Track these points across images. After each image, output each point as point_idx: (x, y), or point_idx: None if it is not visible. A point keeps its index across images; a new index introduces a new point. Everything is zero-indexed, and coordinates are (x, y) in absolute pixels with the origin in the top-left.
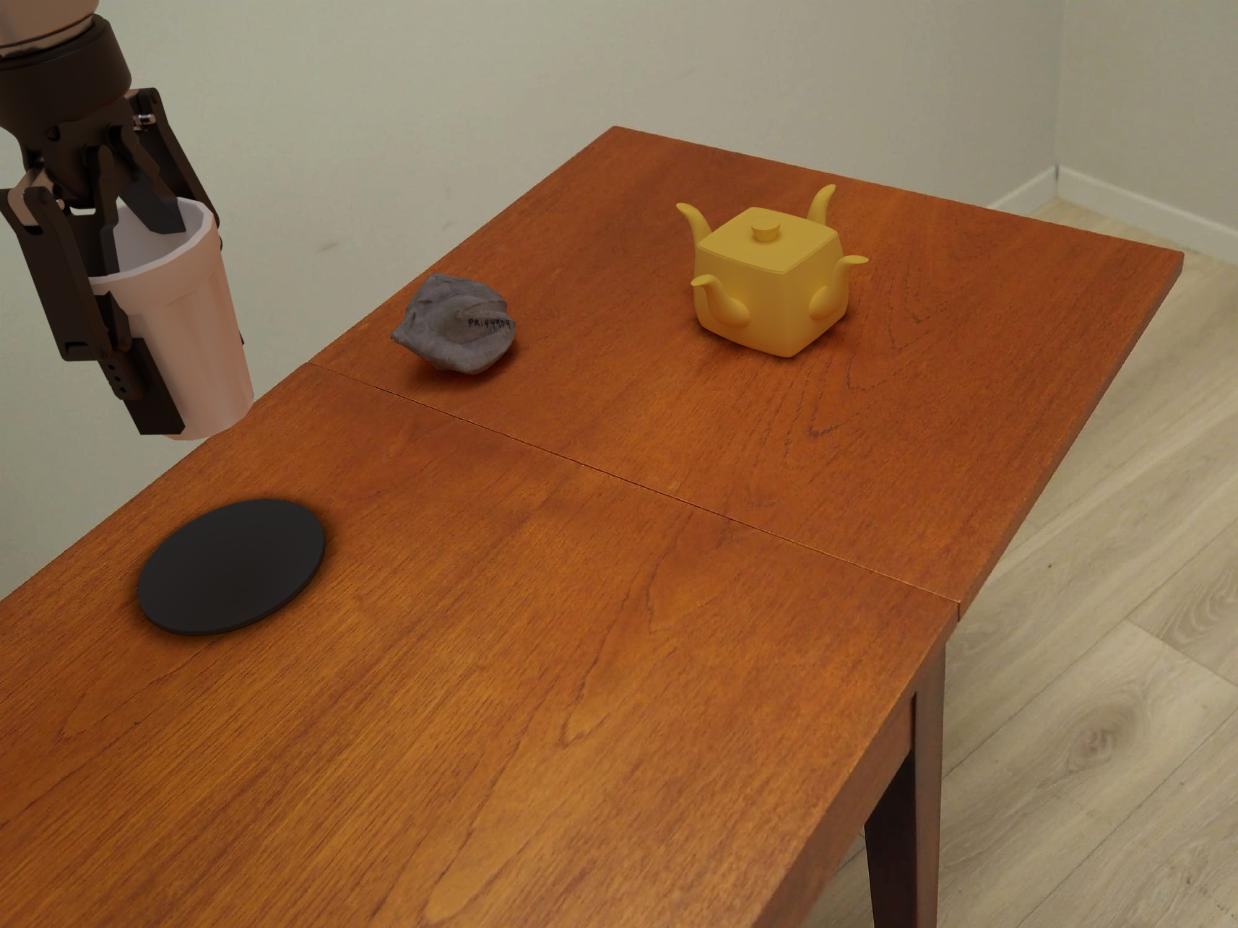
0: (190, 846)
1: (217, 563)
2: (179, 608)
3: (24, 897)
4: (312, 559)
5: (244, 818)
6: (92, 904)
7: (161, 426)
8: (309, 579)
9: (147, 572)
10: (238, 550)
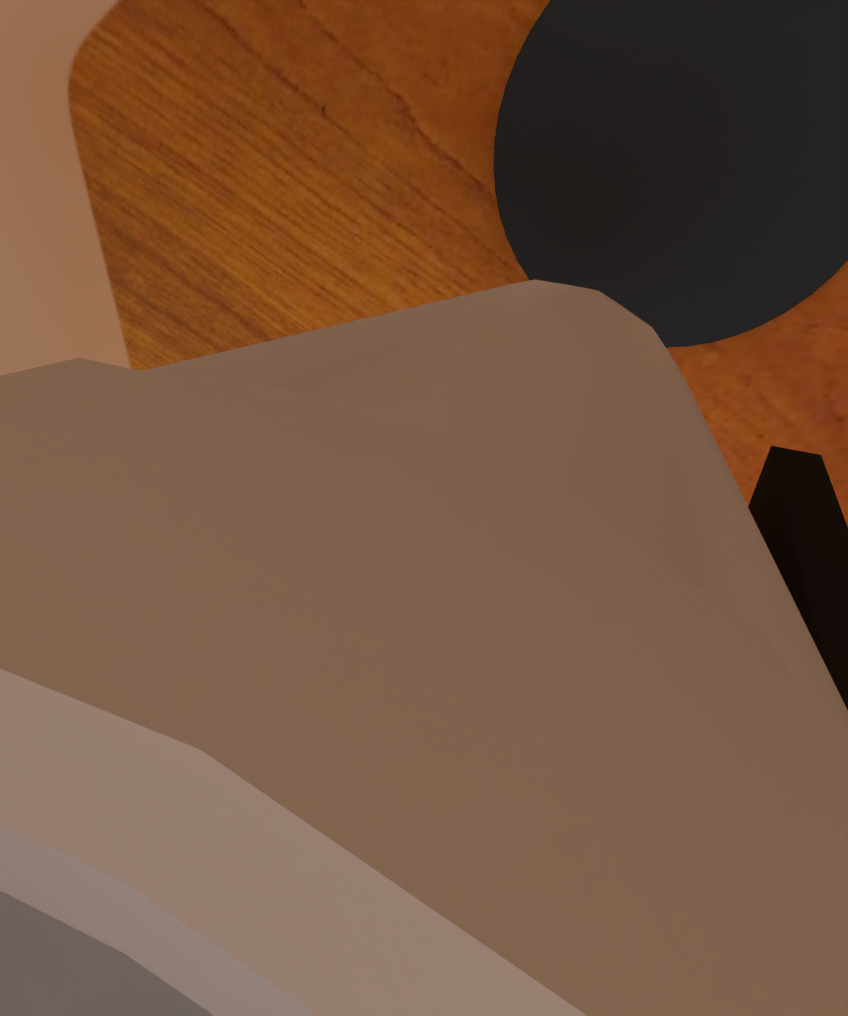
0: (177, 280)
1: (682, 121)
2: (555, 84)
3: (78, 72)
4: None
5: (216, 335)
6: (97, 180)
7: None
8: None
9: None
10: (714, 161)
